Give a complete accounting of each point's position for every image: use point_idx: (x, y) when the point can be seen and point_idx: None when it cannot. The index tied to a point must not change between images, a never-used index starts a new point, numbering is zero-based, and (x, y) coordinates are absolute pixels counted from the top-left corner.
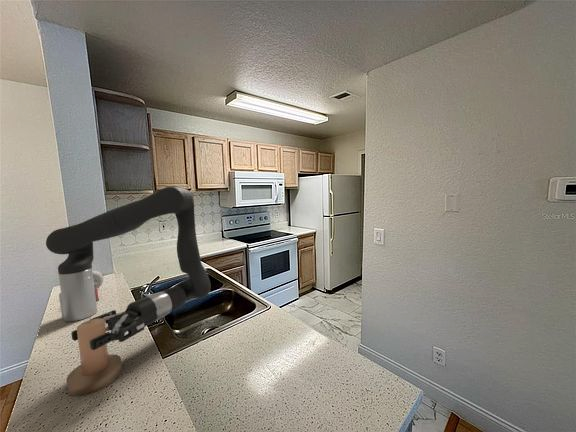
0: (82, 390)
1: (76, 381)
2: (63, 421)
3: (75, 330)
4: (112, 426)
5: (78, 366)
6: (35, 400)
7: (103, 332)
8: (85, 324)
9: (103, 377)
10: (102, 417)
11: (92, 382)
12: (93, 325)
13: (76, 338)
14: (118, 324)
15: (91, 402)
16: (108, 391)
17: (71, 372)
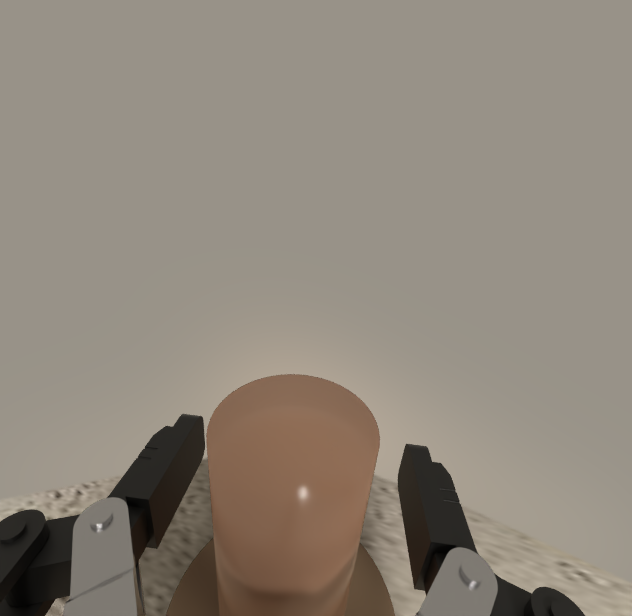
0: None
1: None
2: (207, 471)
3: (424, 455)
4: (31, 496)
5: (388, 597)
6: (374, 490)
7: (213, 512)
8: (327, 411)
9: (180, 585)
10: (87, 507)
11: (207, 544)
12: (251, 416)
13: (400, 485)
14: (94, 589)
15: (177, 536)
16: (144, 599)
17: (364, 553)
